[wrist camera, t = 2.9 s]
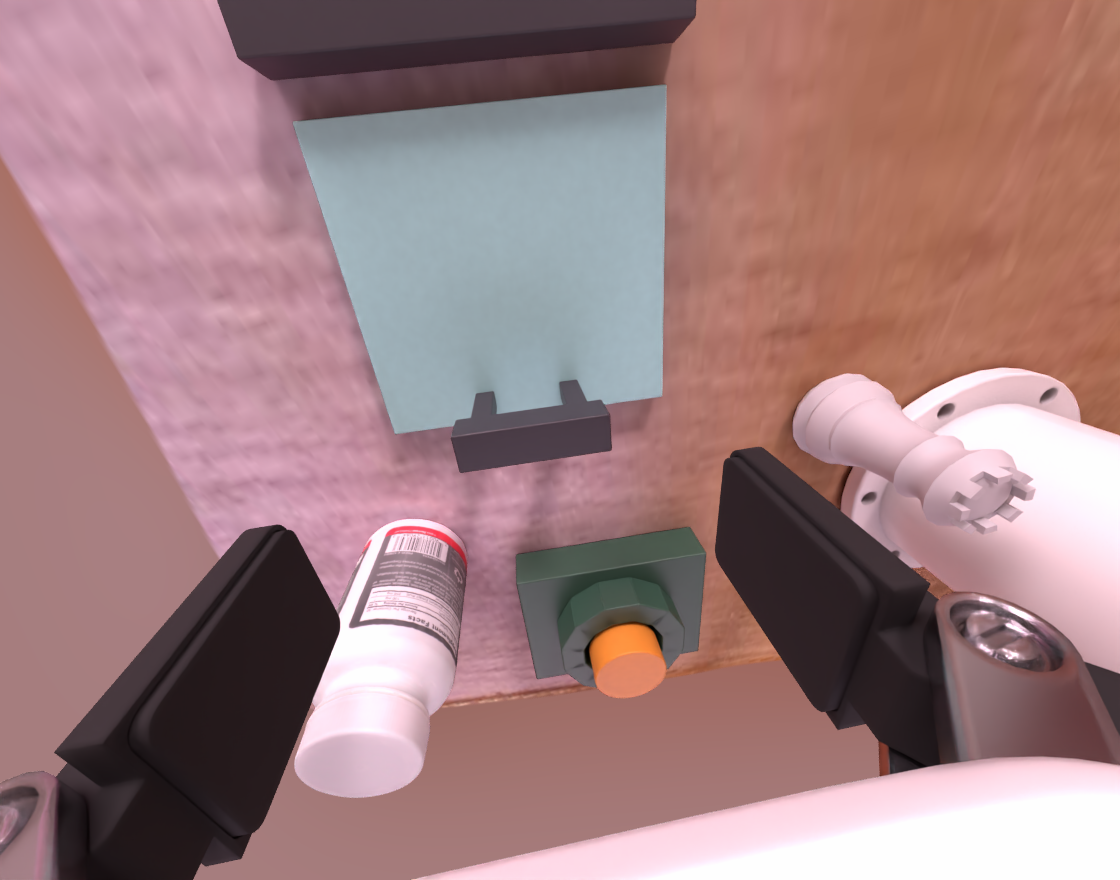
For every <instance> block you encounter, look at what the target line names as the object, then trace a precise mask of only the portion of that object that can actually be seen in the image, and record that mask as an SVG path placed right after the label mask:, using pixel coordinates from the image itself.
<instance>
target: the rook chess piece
mask: <svg viewBox="0 0 1120 880" xmlns="http://www.w3.org/2000/svg"><path fill="white" fill-rule="evenodd" d="M793 438H794V440H795V441H796V443H797V445H798V446H799V448H800V449H802V450H804V451H805V452H807V453H809V454H811V455H812V456H814V457H816V458H817V459H819V460H821V461H823V462H826V463H829V464H843V465H845V466H858V467H861V468H864V469H866V470H868V471H870V472H872V473H875V474H877V475H879V476H881V477H883V478H885V479H887V480H888V481H890V482H891V483H893V485H894V487H895V489H896V491H897V493H899V494H900V495H902V496H904V497H910V498H918V499H919V500H920V502H921V506H922V510H923V512H924V514H925V517H926V519H927V520H928V521H930V522H932V523H934V524H935V525H937V526H957V527H959V528H960V529H962V530H963V531H965V532H967V533H969V534H972V533H973V532H974V531H975V530H976V531H978V532H979V533H981V534H983V535H984V534H987V533H991V532H994V531H997V525H996V524H995V523H993V522H991V521H990V520H988V519H990V518H992V517H993V516H995V515H999V516H1001V517H1002V518H1004V519H1006V520H1008V521H1009V522H1012V521H1014V520H1015V519H1016V518H1017V517H1018V516H1019V515H1021V514H1022V513H1023V511H1021V510H1019V509H1017V508H1015V507H1014V506H1012V505H1010V504H1009V503H1010V502H1011V500H1012V499H1013V497H1014V496H1015V497H1017V498H1019V499H1021V500H1023V501H1029V500H1033V497H1034V494H1035V491H1036V488H1034V487H1032V486H1030V485H1028V483H1029V482H1031V481H1032V480H1034V479H1033V478H1031V477H1030V476H1028V475H1027V474H1025V473H1023V472H1021V471H1019V470H1017V468H1016V465H1015V463H1014V460H1013V458H1012V456H1011V455H1009V454H1008V453H1006V452H1005V451H1003V450H999V449H981V450H971V451H969V450H966V449H965V448H964V445H963V442H962V441H961V440H959V439H958V438H956V437H955V436H943V435H941V436H939V435H937V434H934V433H932V432H930V431H928V430H926V429H924V428H923V427H921V426H920V425H918V424H917V423H915V422H914V421H912V420H910V419H909V418H908V417H907V416H906V415H904V414H903V412H902V409H901V407H900V405H899V404H897V403H896V401H895V399H894V396H893V394H892V393H891V392H890V391H889V390H888V389H886V388H884V387H883V386H881V385H880V384H878V383H877V382H872V381H871V380H869V379H868V378H866V377H865V376H863V375H860V374H843V375H840V376H837V377H834V378H830V379H827V380H825V381H823V382H821V383H820V384H818V385H817V386H815V387H814V388H813V389H811V390H810V391H808V393H807V394H806V395H805V396H804V398H803V399H802V400H801V401H800V403H799V404H798V406H797V409H796V411H795V414H794V417H793Z"/></svg>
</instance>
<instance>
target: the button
mask: <svg viewBox="0 0 1120 880" xmlns="http://www.w3.org/2000/svg"><path fill="white" fill-rule="evenodd" d="M589 653H590V658H591V663H592V669H593V674H594V679H595V684H596V686H597V688H598V689H599V690H600V691H601V692H602V693H603V694H605V695H607V696H610V697H614V698H631V697H636V696H639V695H642V694H645V693H647V692H649V691H651V690H652V689H654V688H655V687H656V686H658V685H659V684H660V683H661V682H662V680H663V679H664V677H665V675H666V671H667V666H666V662H665V660H664V657H663V654H662V652H661V649H660V646H659V643H658V641H657V638H656V635H655V633H654V631H653V630H652V629H651V628H650V627H648V626H647V625H645V624H643V623H639V622H627V623H621V624H615V625H611V626H610V627H608V628H606V629H604V630H603V631H601V632H599V633H598V634H596V635H595V637H594V638H593V639H592V641H591V643H590V647H589Z"/></svg>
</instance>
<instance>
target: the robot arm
mask: <svg viewBox="0 0 1120 880" xmlns="http://www.w3.org/2000/svg"><path fill="white" fill-rule="evenodd" d="M902 412H903V414H904V415H906V416H907V417H908V418H909V419H910V420H912V421H914V422H915V423H917V424H918V425H920V426H921V427H923V428H924V429H926V430H928V431H930V432H932V433H934V434H937V435H939V436H941V435H943V436H955V437H956V438H958V439H959V440H961V441H962V442H963V445H964V448H965V449H966V450H969V451H971V450H981V449H999V450H1003V451H1005V452H1006V453H1008V454H1009V455H1011V456H1012V458H1013V460H1014V463H1015V465H1016V468H1017V470H1019V471H1021V472H1023V473H1025V474H1027V475H1028V476H1030V477H1031V478H1033V479H1034V480H1032V481H1031V482H1029V483H1028V485H1030V486H1032V487H1034V488H1036V491H1035V494H1034V497H1033V500H1029V501H1023V500H1021V499H1019V498H1017V497H1015V496H1014V497H1013V499H1012V500H1011V502H1010V503H1009V504H1010V505H1012V506H1014V507H1015V508H1017V509H1019V510H1021V511H1023V513H1022V514H1021V515H1019V516H1018V517H1017V518H1016V519H1015V520H1014V521H1012V522H1009V521H1008V520H1006V519H1004V518H1002V517H1001V516H999V515H995V516H993V517H992V518H990V519H988V520H990V521H991V522H993V523H995V524H996V525H997V531H994V532H991V533H987V534H984V535H983V534H981V533H979V532H978V531H976V530H975V531H974V532H973V533H972V534H969V533H967V532H965V531H963V530H962V529H960V528H959V527H957V526H937V525H935V524H934V523H932V522H930V521H928V520H927V519H926V517H925V514H924V512H923V510H922V506H921V502H920V500H919V499H918V498H910V497H904V496H902V495H900V494H899V493H897V491H896V489H895V487H894V485H893V483H891V482H890V481H888V480H887V479H885V478H883V477H881V476H879V475H877V474H875V473H872V472H870V471H868V470H866V469H864V468H861V467H858V466H853V468H852V470H851V472H850V474H849V476H848V479H847V482H846V485H845V488H844V491H843V494H842V501H841V511H840V510H839V509H838V508H837V507H835V506H834V505H833V504H832V503H830V502H829V501H828V500H827V499H825V498H824V497H823V496H822V495H821V494H819V493H818V492H817V491H816V490H814V489H813V488H812V487H811V486H809V485H808V484H807V483H806V482H805V481H803V480H802V479H801V478H800V477H798V476H797V475H796V474H795V473H793V472H792V471H791V470H790V469H789V468H787V467H786V466H785V465H784V464H782V463H781V462H780V461H779V460H777V459H776V458H775V457H774V456H773V455H771V454H770V453H769V452H768V451H766V450H765V449H764V448H762V447H754V448H748V449H742V450H735V451H734V452H732V454H731V456H730V458H727V459H726V460H725V461H724V465H723V475H722V485H721V495H720V505H719V515H718V525H717V535H716V545H715V553H716V558H717V561H718V563H719V565H720V566H721V568H722V569H723V571H724V572H725V574H726V575H727V577H728V579H729V580H730V582H731V583H732V585H733V586H734V588H735V589H736V591H737V592H738V594H739V595H740V597H741V598H742V600H743V601H744V603H745V604H746V606H747V607H748V609H749V610H750V612H751V613H752V615H753V616H754V618H755V619H756V621H757V622H758V624H759V625H760V627H761V628H762V630H763V631H764V633H765V634H766V636H767V637H768V639H769V640H770V642H771V643H772V645H773V646H774V648H775V649H776V651H777V652H778V654H779V655H780V657H781V658H782V660H783V661H784V663H785V664H786V666H787V667H788V669H789V670H790V672H791V673H792V675H793V676H794V678H795V679H796V681H797V682H798V684H799V685H800V687H801V688H802V690H803V692H804V693H805V695H806V696H807V698H808V699H809V701H810V702H811V703H812V705H813V706H814V707H815V708H816V709H817V710H819V711H821V712H826V713H827V715H828V716H829V718H830V719H831V721H832V722H833V724H834V725H835V726H836V728H837V729H838V730H840V729H844V728H849V727H853V726H858V725H862V724H867V726H868V727H869V729H870V730H871V731H872V733H873V734H874V735H875V737H876V738H877V739H878V741H879V768H880V777H875V778H870V779H865V780H860V781H855V782H850V783H844V784H839V785H834V786H829V787H824V788H820V789H815V790H810V791H806V792H802V793H797V794H792V795H788V796H783V797H779V798H775V799H770V800H765V801H760V802H756V803H751V804H747V805H743V806H738V807H733V808H729V809H724V810H720V811H715V812H711V813H706V814H702V815H697V816H692V817H688V818H683V819H679V820H674V821H670V822H666V823H661V824H656V825H651V826H647V827H642V828H638V829H633V830H629V831H624V832H620V833H616V834H612V835H607V836H602V837H598V838H593V839H589V840H585V841H580V842H576V843H571V844H567V845H562V846H558V847H553V848H549V849H545V850H541V851H536V852H532V853H527V854H522V855H518V856H513V857H509V858H505V859H500V860H496V861H492V862H487V863H483V864H478V865H474V866H470V867H465V868H461V869H456V870H452V871H447V872H443V873H439V874H435V875H430V876H425V877H421V878H416V879H412V880H1120V435H1117V434H1114V433H1111V432H1107V431H1104V430H1101V429H1098V428H1095V427H1092V426H1089V425H1086V424H1083V423H1080V410H1079V407H1078V404H1077V402H1076V399H1075V397H1074V394H1073V393H1072V392H1071V391H1070V390H1069V389H1068V388H1067V387H1066V386H1065V384H1064V383H1062V382H1060V381H1058V380H1056V379H1054V378H1052V377H1050V376H1047V375H1044V374H1040V373H1036V372H1032V371H1028V370H1024V369H1016V368H995V369H988V370H982V371H977V372H974V373H971V374H968V375H965V376H961V377H958V378H955V379H953V380H951V381H949V382H947V383H945V384H943V385H941V386H939V387H937V388H935V389H932V390H931V391H929V392H927V393H926V394H924V395H923V396H921V397H920V398H918V399H917V400H915V401H914V402H912V403H910V404H909V405H908V406H906V407H905V408H904V409H903V410H902ZM920 567H925V568H926V569H927V570H928V571H930V572H931V573H932V574H933V575H935V576H936V577H937V578H938V579H940V580H941V581H942V582H943V583H945V584H946V585H947V586H948V587H950V588H951V589H952V590H953V591H955V592H952V593H949V594H946V595H943V596H942V597H941V598H940V599H939V600H938V599H937V598H936V597H935V596H933V595H932V594H931V593H930V592H929V591H927V590H928V588H929V585H930V583H929V582H928V581H926V580H925V579H924V578H923V577H921V576H920V575H919V574H918V573H916V572H915V571H914V570H913V569H912V568H920ZM339 632H340V618H339V615H338V613H337V611H336V609H335V608H334V606H333V604H332V602H331V600H330V598H329V596H328V594H327V592H326V591H325V589H324V587H323V585H322V583H321V581H320V579H319V577H318V576H317V574H316V572H315V570H314V568H313V566H312V564H311V562H310V560H309V559H308V557H307V555H306V553H305V551H304V549H303V547H302V545H301V544H300V542H299V540H298V538H297V536H296V534H295V533H294V532H293V531H291V530H286V528H285V527H283V526H282V525H272V526H266V527H259V528H253V529H249V530H246V531H245V532H243V533H242V534H241V535H240V536H239V538H238V539H237V540H236V541H235V542H234V543H233V545H232V546H231V547H230V548H229V549H228V550H227V552H226V553H225V554H224V555H223V556H222V557H221V559H220V560H219V561H218V562H217V563H216V565H215V566H214V567H213V568H212V569H211V570H210V572H209V573H208V574H207V575H206V576H205V577H204V578H203V580H202V581H201V582H200V583H199V584H198V585H197V587H196V588H195V589H194V590H193V591H192V592H191V594H190V595H189V596H188V597H187V598H186V599H185V601H184V602H183V603H182V604H181V605H180V607H179V608H178V609H177V610H176V611H175V612H174V613H173V615H172V616H171V617H170V618H169V619H168V620H167V622H166V623H165V624H164V625H163V626H162V627H161V629H160V630H159V631H158V632H157V633H156V634H155V635H154V637H153V638H152V639H151V640H150V641H149V643H148V644H147V645H146V646H145V647H144V648H143V649H142V651H141V652H140V653H139V654H138V655H137V656H136V658H135V659H134V660H133V661H132V662H131V663H130V665H129V666H128V667H127V668H126V669H125V670H124V672H123V673H122V674H121V675H120V676H119V678H118V679H117V680H116V681H115V682H114V683H113V684H112V686H111V687H110V688H109V689H108V690H107V691H106V693H105V694H104V695H103V696H102V697H101V698H100V700H99V701H98V702H97V703H96V704H95V705H94V707H93V708H92V709H91V710H90V711H89V713H88V714H87V715H86V716H85V717H84V718H83V719H82V721H81V722H80V723H79V724H78V725H77V726H76V728H75V729H74V730H73V731H72V732H71V733H70V735H69V736H68V737H67V738H66V739H65V740H64V741H63V743H62V744H61V745H60V746H59V747H58V748H57V750H56V751H55V752H54V753H55V754H57V755H58V756H59V757H61V758H62V759H63V760H65V761H66V762H67V764H66V765H65V767H64V768H63V769H62V770H61V771H60V773H59V774H58V775H57V776H56V777H55V776H54V775H51V774H49V773H47V772H44V771H38V772H28V773H25V774H21V775H19V776H16V777H13V778H11V779H8V780H5V781H3V782H1V783H0V880H193V879H194V876H195V874H196V872H197V870H198V868H199V866H200V864H201V863H202V864H203V865H204V866H209V865H214V864H219V863H224V862H229V861H233V860H238V859H241V858H242V856H243V854H244V851H245V849H246V846H247V844H248V842H249V839H250V837H251V834H252V833H253V832H255V831H256V830H257V829H259V827H260V826H261V825H262V823H263V821H264V819H265V817H266V815H267V812H268V810H269V808H270V805H271V803H272V800H273V798H274V795H275V793H276V790H277V788H278V785H279V783H280V780H281V778H282V775H283V773H284V770H285V768H286V765H287V763H288V760H289V758H290V755H291V753H292V750H293V748H294V745H295V743H296V740H297V738H298V735H299V733H300V731H301V728H302V725H303V723H304V720H305V718H306V716H307V713H308V711H309V708H310V706H311V703H312V701H313V698H314V696H315V693H316V691H317V688H318V686H319V683H320V681H321V678H322V676H323V673H324V671H325V668H326V666H327V663H328V661H329V658H330V656H331V653H332V651H333V648H334V646H335V643H336V641H337V638H338V636H339Z"/></svg>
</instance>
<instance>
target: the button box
mask: <svg viewBox="0 0 1120 880" xmlns="http://www.w3.org/2000/svg"><path fill="white" fill-rule="evenodd" d="M705 563H706V552H705V550H704V549H703V547H702V545H701V544H700V542H699V541H698V539H697V537H696V536H695V534H694V533H693V531H692V529H691V528H690V527H685V528H679V529H673V530H667V531H660V532H654V533H648V534H642V535H636V536H629V537H623V538H617V539H611V540H604V541H598V542H592V543H586V544H579V545H573V546H567V547H561V548H554V549H548V550H542V551H536V552H529V553H523V554H517V555H516V584H517V589H518V594H519V598H520V603H521V608H522V612H523V617H524V622H525V626H526V631H527V636H528V640H529V645H530V650H531V654H532V659H533V664H534V668H535V673H536V678H537V679H542V678H548V677H553V676H559V675H565V674H569V675H570V676H571V677H573V678H574V679H575V680H577V681H578V682H579V683H580V684H582V685H584V686H589V687H595V688H597V686H596V684H595V679H594V674H593V669H592V663H591V658H590V653H589V647H590V643H591V641H592V639H593V638H594V637H595V635H596V634H598V633H599V632H601V631H603V630H604V629H606V628H608V627H610V626H611V625H615V624H621V623H627V622H639V623H643V624H645V625H647V626H648V627H650V628H651V629H652V630H653V631H654V633H655V635H656V638H657V641H658V643H659V646H660V649H661V652H662V654H663V657H664V660H665V662H666V666H667V669H668V668H669V667H670V666H671V665H672V664H673V662H674V661H675V660H676V659H677V657H678V656H679V655H680V654H683V653H689V652H694V651H698V646H699V634H700V622H701V610H702V598H703V586H704V575H705Z"/></svg>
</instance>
